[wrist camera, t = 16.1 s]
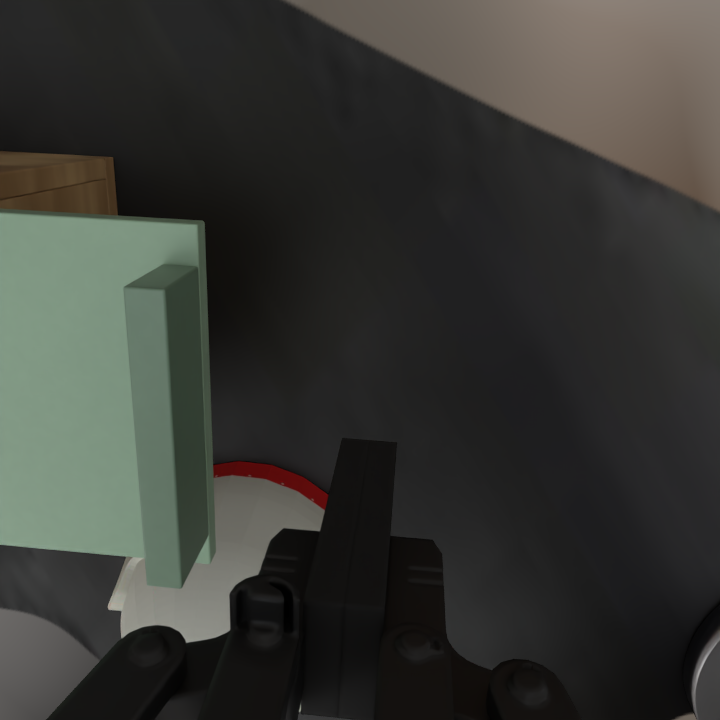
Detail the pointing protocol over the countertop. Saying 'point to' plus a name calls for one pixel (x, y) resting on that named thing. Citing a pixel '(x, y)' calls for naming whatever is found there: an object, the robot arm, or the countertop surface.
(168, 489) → the lid
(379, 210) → the countertop surface
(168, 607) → the white toy chicken
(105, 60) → the countertop surface
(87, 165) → the case
